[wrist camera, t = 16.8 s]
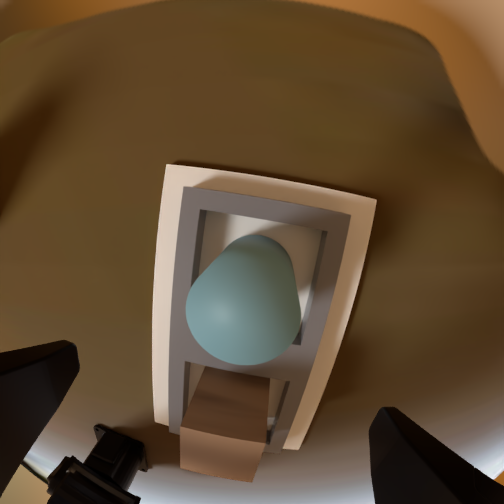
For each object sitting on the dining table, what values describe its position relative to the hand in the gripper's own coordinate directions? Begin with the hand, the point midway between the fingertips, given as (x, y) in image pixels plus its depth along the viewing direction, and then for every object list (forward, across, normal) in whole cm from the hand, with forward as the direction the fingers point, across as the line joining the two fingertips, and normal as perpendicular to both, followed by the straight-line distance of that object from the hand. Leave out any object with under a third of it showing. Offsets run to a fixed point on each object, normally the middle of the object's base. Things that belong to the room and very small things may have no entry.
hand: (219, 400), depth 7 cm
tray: (+13, 0, +5) cm, 14 cm away
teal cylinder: (+12, 0, 0) cm, 12 cm away
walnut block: (+12, 0, +10) cm, 16 cm away
